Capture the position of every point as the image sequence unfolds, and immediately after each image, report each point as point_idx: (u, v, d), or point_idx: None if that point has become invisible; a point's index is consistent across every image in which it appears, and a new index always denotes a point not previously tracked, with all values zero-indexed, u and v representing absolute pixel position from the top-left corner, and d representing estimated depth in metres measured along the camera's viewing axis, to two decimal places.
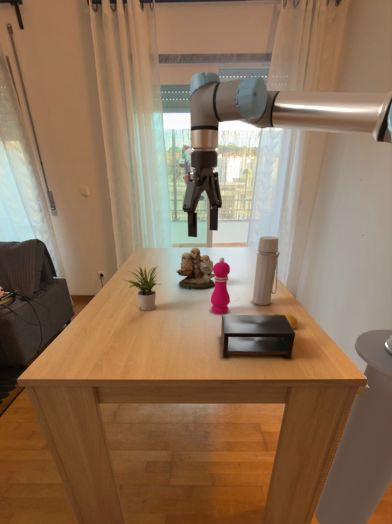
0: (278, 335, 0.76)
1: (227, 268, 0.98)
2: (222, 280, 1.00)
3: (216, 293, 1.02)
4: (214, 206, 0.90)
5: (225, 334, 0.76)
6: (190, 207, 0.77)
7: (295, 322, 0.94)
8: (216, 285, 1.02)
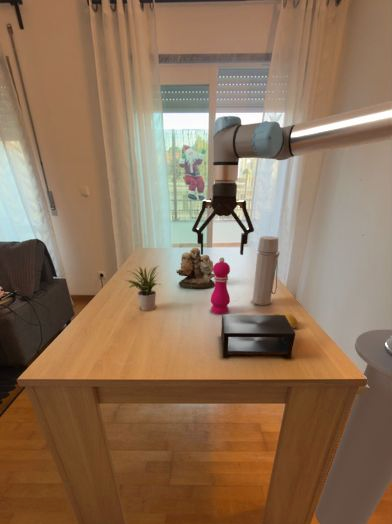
0: (278, 335, 0.76)
1: (227, 268, 0.98)
2: (222, 280, 1.00)
3: (216, 293, 1.02)
4: (244, 232, 0.93)
5: (225, 334, 0.76)
6: (193, 229, 0.92)
7: (295, 322, 0.94)
8: (216, 285, 1.02)
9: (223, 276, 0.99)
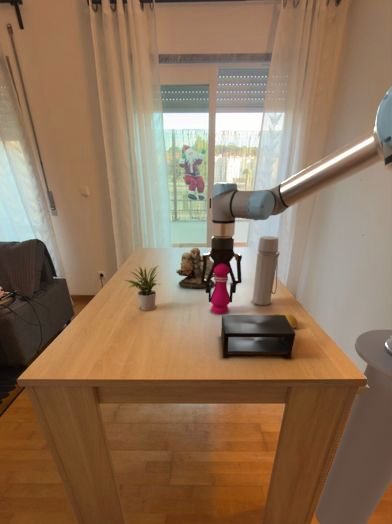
0: (278, 335, 0.76)
1: (227, 268, 0.98)
2: (222, 280, 1.00)
3: (216, 293, 1.02)
4: None
5: (225, 334, 0.76)
6: (201, 281, 1.01)
7: (295, 322, 0.94)
8: (216, 285, 1.02)
9: (223, 276, 0.99)
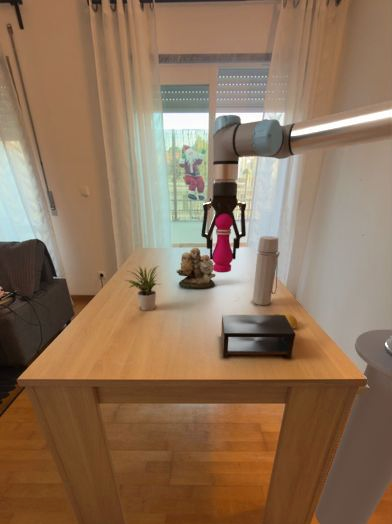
0: (278, 335, 0.76)
1: (230, 218, 0.89)
2: (224, 233, 0.91)
3: (218, 248, 0.94)
4: (236, 236, 0.94)
5: (225, 334, 0.76)
6: (202, 234, 0.93)
7: (295, 322, 0.94)
8: (218, 239, 0.93)
9: (226, 228, 0.91)
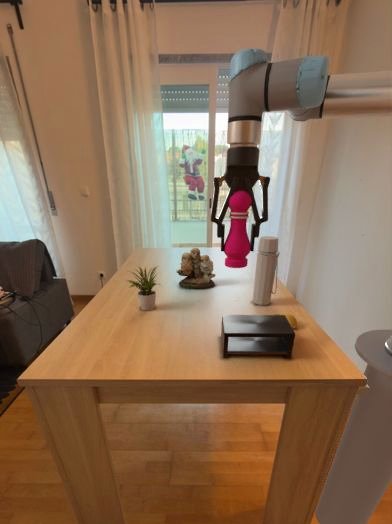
0: (278, 335, 0.76)
1: (248, 197, 0.68)
2: (241, 216, 0.70)
3: (232, 236, 0.73)
4: (255, 221, 0.73)
5: (225, 334, 0.76)
6: (211, 219, 0.72)
7: (295, 322, 0.94)
8: (232, 225, 0.72)
9: (242, 210, 0.70)
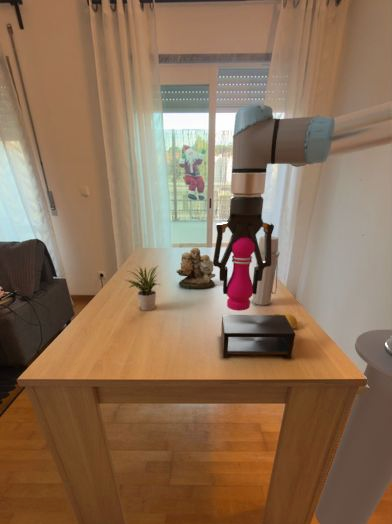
0: (278, 335, 0.76)
1: (252, 244, 0.68)
2: (244, 262, 0.70)
3: (235, 280, 0.72)
4: (258, 265, 0.72)
5: (225, 334, 0.76)
6: (214, 263, 0.71)
7: (295, 322, 0.94)
8: (235, 269, 0.72)
9: (246, 256, 0.69)
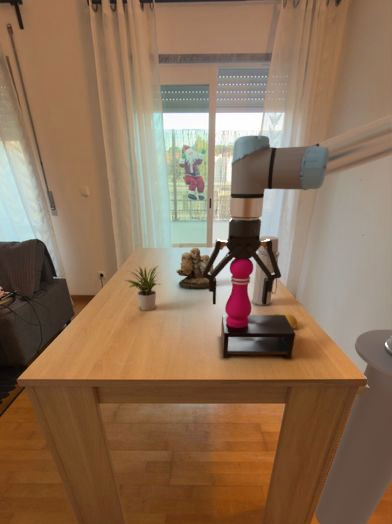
0: (278, 335, 0.76)
1: (250, 266, 0.70)
2: (242, 282, 0.72)
3: (234, 299, 0.75)
4: (268, 277, 0.74)
5: (225, 334, 0.76)
6: (203, 275, 0.73)
7: (295, 322, 0.94)
8: (234, 289, 0.74)
9: (244, 277, 0.72)
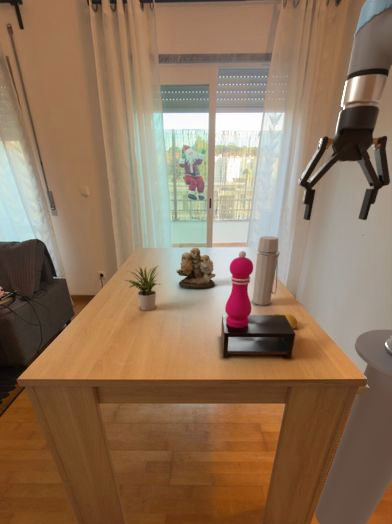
0: (278, 335, 0.76)
1: (250, 266, 0.70)
2: (242, 282, 0.72)
3: (234, 299, 0.75)
4: (372, 186, 0.66)
5: (225, 334, 0.76)
6: (302, 181, 0.65)
7: (295, 322, 0.94)
8: (234, 289, 0.74)
9: (244, 277, 0.72)
